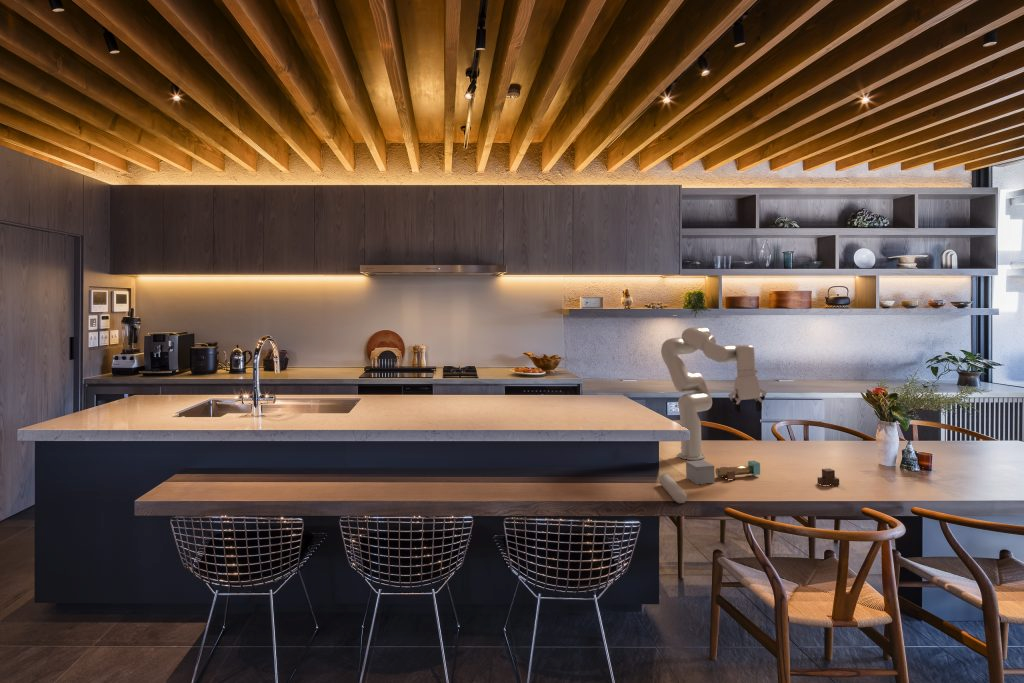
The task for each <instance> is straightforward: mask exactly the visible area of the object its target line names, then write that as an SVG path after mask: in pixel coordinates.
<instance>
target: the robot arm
mask: <svg viewBox="0 0 1024 683" xmlns="http://www.w3.org/2000/svg"><path fill="white" fill-rule="evenodd" d="M716 342H717V341H716V338H715V336H714V335H712V334H711V331H710V330H709V329H708V328H707V327H705V326H699V327H696V326H695V327H688V328H686V329H685V330H683V331H682V334H681V337H672V338H668V339H666V340H665V341H664V342H663V343H662V345H661V349H660V351H661V352H660V353H661V358H662V360H663V362H664V364H665V366H666V367H667V369H668V373H669V376H670V377H671V380H672V384H673V386H674V388H675V389H676V391H677V392H679V393H684V394H682V395H680V397H679V398H678V400H677V406H678V411H679V416H680V417H679V418H680V427H681V426H682V427H685V428H687V429H688V430H689V431H690V433H691V438H690V440H686V441H681V440H680V444H681V445H680V449H681V451H680V452H679V453H678V454H677V456H678V458H680V459H681V458H682V460H686V459H687V460H686V461H697V460H704V459H705V457H706V454H704V453H702V425H701V423H702V422H701V419H700V417H699V414H698V413H700V412H705V411H708V410H710V409H711V408H712V405H713V398H712V395H711V393H710V390H709V388H708V385H707V382H706V380H705V377H704V376H703V375H702V374H701V373H699V372H698V371H690V372H689V371H688V369H687V366H686V364H685V362H684V361H683V360H682V359H681V358H680V357H679V355H689V354H693V353H695V352H697V351H698V350H699V351H701V352H703V354H704V356H705V357H706V358H708V359H710V360H712V361H715V362H717V363H723V364H724V363H731V362H732V363H733V362H736V376H735V377H734V386H733V387H734V389H733V391H731V392H730V393H728V398H729V399H730V401H731V402H732V403H733V404H734V411H735V414H741V404H740V403H741V401H743V400H745V401H746V400H755V401H756V402H755V410H756V412H762V409H763V408H762V403H763V401H764V400H765V398H766V395H767V391H765V390H763V389H761V388H760V382H759V379H758V376H757V374H758V373H759V370H758V369H756V361H755V360H756V358H755V356H756V355H755V347H754V346H753V345H750V344H746V345H745V344H744V345H743V344H742V345H741V344H727V345H726V344H725V345H720V344H719V345H718V344H716ZM689 392H691V393H689Z"/></svg>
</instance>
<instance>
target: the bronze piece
mask: <svg viewBox="0 0 1024 683" xmlns="http://www.w3.org/2000/svg"><path fill="white" fill-rule="evenodd" d="M725 467H726V468H720V467H716V469H715V474H716V476H717V477H718V478H722V476H727V471H735V476H743V475H744V476H745V475H752V476H759V475H761V463H760V462H758V461H756V460H748V461H747V465H741V466H740V465H739V466H738V465H737V466H729V467H728V466H725Z"/></svg>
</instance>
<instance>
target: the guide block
mask: <svg viewBox="0 0 1024 683" xmlns="http://www.w3.org/2000/svg"><path fill="white" fill-rule="evenodd" d="M726 467H727V466H721V467H719V468H726ZM723 477H725V478H727V479H735V480H736V475H735V471H727V476H723Z"/></svg>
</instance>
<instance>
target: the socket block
mask: <svg viewBox="0 0 1024 683" xmlns="http://www.w3.org/2000/svg"><path fill="white" fill-rule="evenodd" d="M685 473H686V474H685V477H686V478H685V479H687V478H688V479H689V480H688V479H687V480H688V481H690V480H691V481H692V482H691V481H690V482H691V483H693V482H694V483H693V484H694V485H696V484H697V485H696V486H699V485H698V484H701V485H707V484H706V483H712V484H715V483H714V482H715V481H716V480H715V465H714V464H712V463H710V462H708V461H706V460H704V459H700V460H686V461H685Z"/></svg>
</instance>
